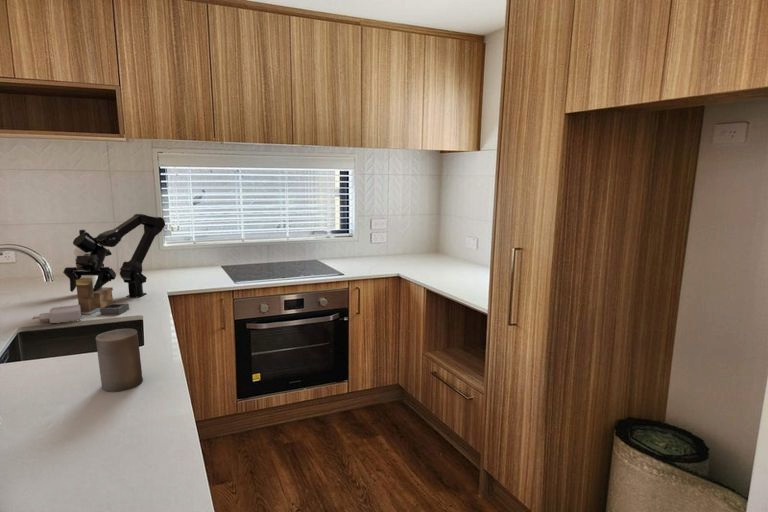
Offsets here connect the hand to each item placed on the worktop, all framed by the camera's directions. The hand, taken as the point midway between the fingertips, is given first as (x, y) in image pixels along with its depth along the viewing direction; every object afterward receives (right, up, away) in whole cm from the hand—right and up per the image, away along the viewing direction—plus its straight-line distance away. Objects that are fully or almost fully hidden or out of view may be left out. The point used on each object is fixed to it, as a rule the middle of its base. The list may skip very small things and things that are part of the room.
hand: (82, 291), depth 195 cm
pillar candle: (+51, -20, -66) cm, 85 cm away
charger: (-4, -11, -9) cm, 15 cm away
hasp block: (+12, -9, +2) cm, 15 cm away
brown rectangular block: (0, -8, +3) cm, 9 cm away
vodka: (-17, -4, +33) cm, 37 cm away
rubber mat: (0, -9, +3) cm, 9 cm away
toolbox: (-1, -7, +12) cm, 14 cm away
